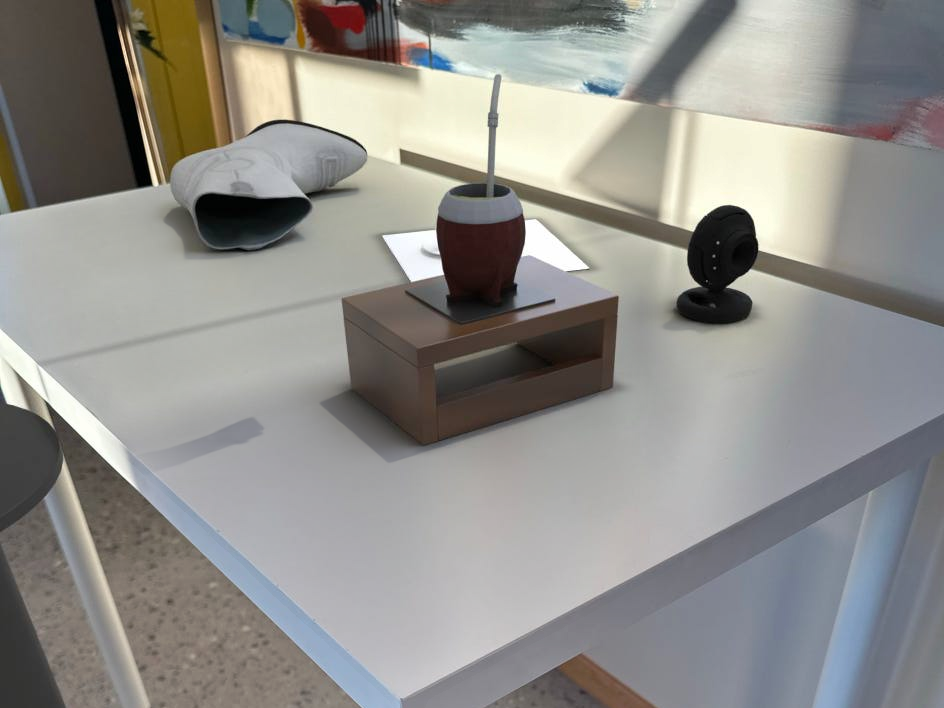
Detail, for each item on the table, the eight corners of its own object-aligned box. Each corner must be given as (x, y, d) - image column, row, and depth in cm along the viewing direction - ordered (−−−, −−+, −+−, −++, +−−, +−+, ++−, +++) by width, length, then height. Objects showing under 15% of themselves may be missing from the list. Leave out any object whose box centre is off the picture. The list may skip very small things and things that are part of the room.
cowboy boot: (156, 141, 128) (174, 189, 109) (356, 103, 133) (405, 144, 115) (177, 215, 134) (198, 273, 116) (368, 177, 139) (416, 226, 121)
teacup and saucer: (485, 234, 119) (485, 199, 116) (503, 254, 113) (503, 217, 110) (416, 242, 117) (413, 206, 115) (430, 262, 111) (428, 225, 109)
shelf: (351, 388, 85) (340, 295, 80) (528, 339, 93) (529, 252, 88) (423, 445, 77) (416, 345, 72) (613, 387, 84) (619, 292, 79)
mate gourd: (461, 316, 76) (453, 101, 66) (422, 286, 81) (409, 83, 72) (545, 300, 78) (549, 89, 69) (501, 271, 84) (499, 73, 74)
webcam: (709, 330, 94) (723, 222, 87) (659, 307, 99) (669, 203, 92) (768, 313, 97) (786, 207, 91) (716, 292, 102) (730, 190, 95)
